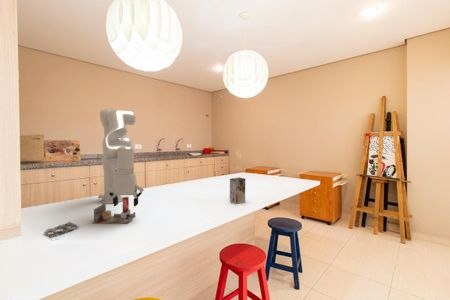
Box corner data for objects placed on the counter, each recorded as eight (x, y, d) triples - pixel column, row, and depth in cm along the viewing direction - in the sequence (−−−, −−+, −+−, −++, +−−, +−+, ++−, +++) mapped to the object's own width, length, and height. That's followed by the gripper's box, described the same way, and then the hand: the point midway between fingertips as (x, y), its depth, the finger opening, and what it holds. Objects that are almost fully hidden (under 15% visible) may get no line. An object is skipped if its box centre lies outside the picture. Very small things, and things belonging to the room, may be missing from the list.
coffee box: (238, 199, 150) (239, 177, 149) (245, 201, 145) (245, 178, 144) (229, 201, 144) (229, 178, 143) (235, 204, 139) (236, 180, 138)
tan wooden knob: (100, 221, 104) (100, 213, 103) (104, 218, 108) (104, 210, 107) (108, 221, 104) (108, 213, 104) (112, 218, 108) (112, 210, 108)
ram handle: (120, 221, 103) (120, 199, 103) (125, 217, 109) (125, 196, 108) (126, 221, 104) (126, 199, 103) (130, 217, 109) (130, 196, 108)
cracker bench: (91, 226, 101) (91, 210, 100) (102, 218, 111) (102, 203, 110) (128, 226, 101) (127, 210, 101) (136, 218, 111) (135, 203, 111)
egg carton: (52, 242, 86) (51, 232, 86) (42, 238, 89) (42, 228, 89) (79, 232, 96) (79, 223, 95) (70, 228, 99) (70, 219, 99)
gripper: (103, 172, 101) (104, 207, 102) (140, 173, 101) (140, 208, 102) (111, 170, 108) (111, 203, 109) (145, 170, 109) (145, 203, 110)
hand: (125, 205), depth 106 cm, fingers open, 9 cm apart
